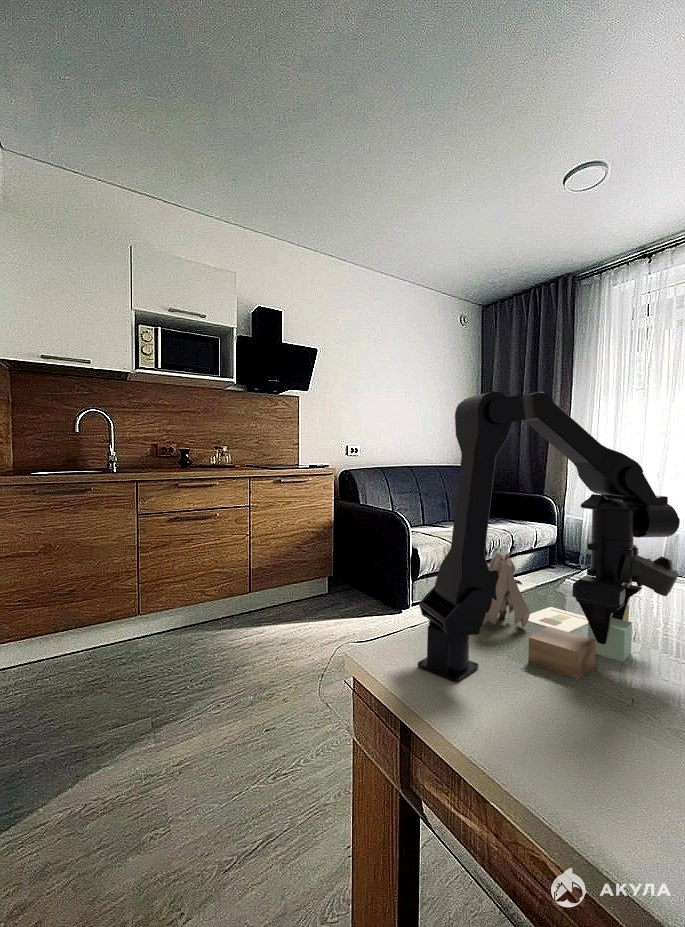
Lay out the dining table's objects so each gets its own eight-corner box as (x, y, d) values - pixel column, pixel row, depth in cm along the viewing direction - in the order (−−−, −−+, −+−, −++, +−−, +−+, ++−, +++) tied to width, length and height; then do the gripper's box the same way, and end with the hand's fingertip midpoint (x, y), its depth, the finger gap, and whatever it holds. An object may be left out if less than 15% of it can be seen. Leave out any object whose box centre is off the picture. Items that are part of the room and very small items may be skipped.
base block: (578, 681, 62) (579, 652, 62) (528, 663, 67) (528, 637, 67) (595, 666, 67) (595, 639, 67) (547, 651, 72) (547, 626, 72)
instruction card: (566, 633, 79) (566, 632, 79) (519, 618, 86) (519, 617, 86) (596, 620, 86) (596, 619, 86) (550, 607, 93) (550, 606, 93)
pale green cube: (623, 663, 68) (624, 630, 68) (587, 652, 71) (588, 621, 71) (631, 653, 71) (631, 622, 71) (596, 644, 75) (597, 614, 75)
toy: (517, 612, 88) (525, 543, 83) (529, 641, 80) (540, 567, 75) (470, 609, 89) (476, 541, 84) (478, 638, 81) (485, 564, 76)
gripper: (663, 553, 59) (660, 671, 59) (683, 538, 72) (680, 634, 72) (572, 541, 67) (569, 646, 67) (605, 530, 80) (603, 617, 80)
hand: (609, 635), depth 71 cm, fingers open, 9 cm apart
